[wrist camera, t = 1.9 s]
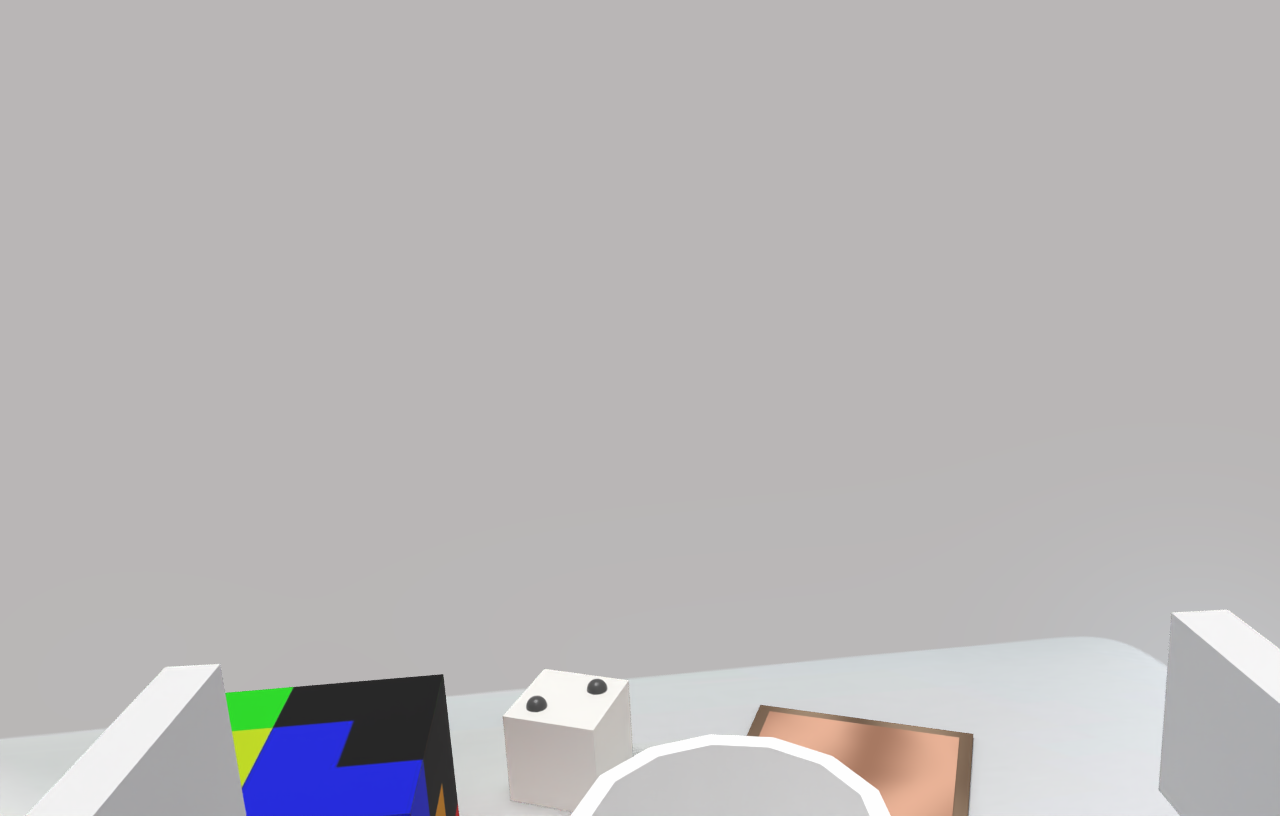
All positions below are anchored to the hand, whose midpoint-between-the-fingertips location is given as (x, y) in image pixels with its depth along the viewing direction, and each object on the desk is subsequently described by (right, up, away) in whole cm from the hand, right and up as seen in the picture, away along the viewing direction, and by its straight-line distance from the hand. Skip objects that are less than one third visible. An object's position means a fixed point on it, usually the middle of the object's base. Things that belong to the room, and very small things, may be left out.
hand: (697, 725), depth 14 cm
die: (-4, -16, +40) cm, 43 cm away
